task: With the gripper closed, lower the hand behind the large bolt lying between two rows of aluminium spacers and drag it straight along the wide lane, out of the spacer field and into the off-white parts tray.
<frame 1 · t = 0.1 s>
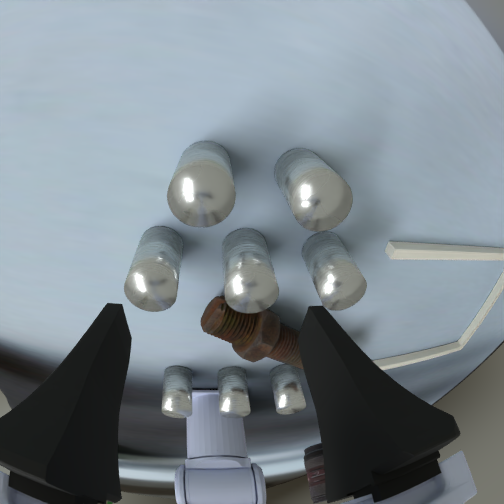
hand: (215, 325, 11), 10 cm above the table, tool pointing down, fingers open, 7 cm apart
tray rim: (434, 311, 29), on the table
spacer field: (247, 325, 26), on the table
bolt: (278, 322, 27), on the table
camera lens: (317, 446, 56), on the table
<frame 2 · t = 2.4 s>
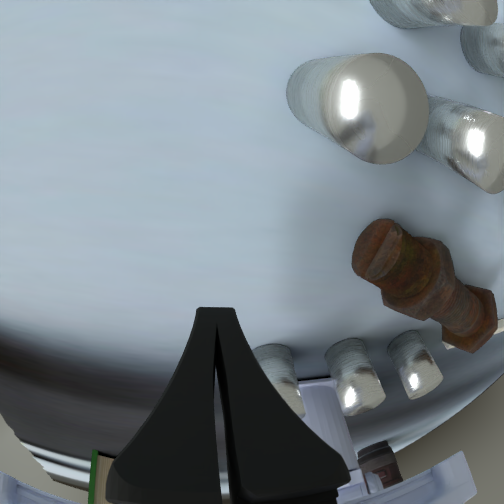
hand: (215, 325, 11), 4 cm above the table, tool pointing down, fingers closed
hardback book: (113, 462, 39), on the table
spacer field: (398, 262, 16), on the table
bolt: (421, 269, 17), on the table
camera lens: (371, 446, 46), on the table
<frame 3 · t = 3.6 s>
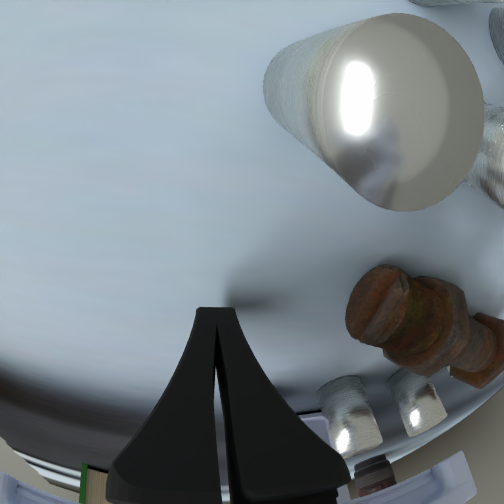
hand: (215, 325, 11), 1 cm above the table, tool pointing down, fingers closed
hardback book: (104, 474, 36), on the table
spacer field: (406, 298, 13), on the table
bolt: (429, 304, 15), on the table
camera lens: (369, 460, 43), on the table
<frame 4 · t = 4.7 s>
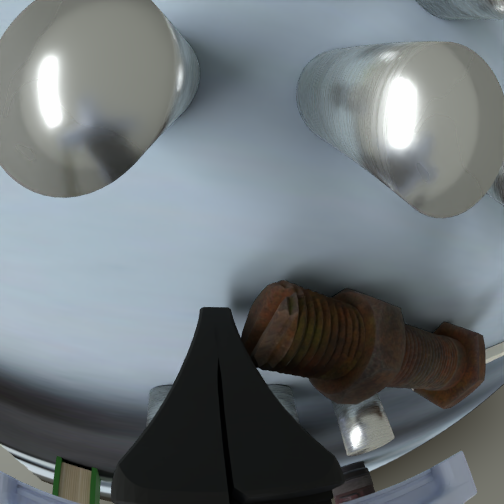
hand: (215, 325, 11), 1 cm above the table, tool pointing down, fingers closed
hardback book: (81, 469, 35), on the table
spacer field: (318, 304, 12), on the table
bolt: (377, 317, 14), on the table, touching gripper
camera lens: (346, 466, 42), on the table
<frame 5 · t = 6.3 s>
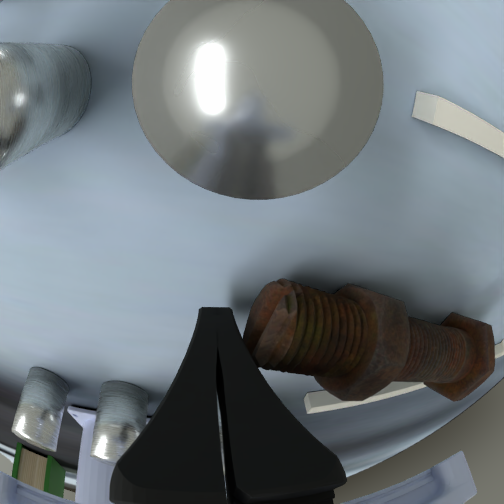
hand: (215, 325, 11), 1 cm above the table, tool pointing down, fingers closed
hardback book: (43, 458, 33), on the table
tray rim: (489, 290, 15), on the table
spacer field: (104, 300, 11), on the table
bolt: (382, 311, 14), on the table, touching gripper
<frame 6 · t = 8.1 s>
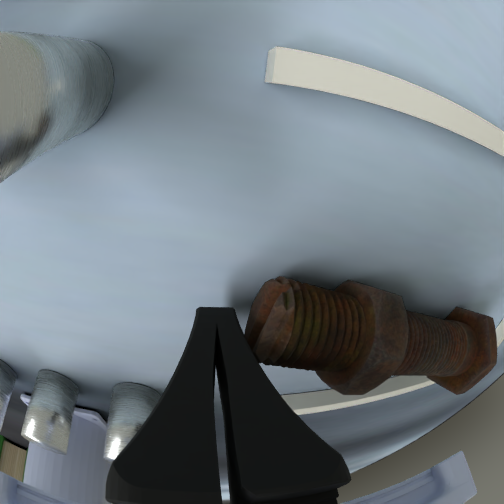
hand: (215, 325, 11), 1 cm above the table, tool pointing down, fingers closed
hardback book: (26, 451, 33), on the table
tray rim: (447, 294, 14), on the table
spacer field: (15, 292, 10), on the table
bolt: (382, 305, 14), on the table
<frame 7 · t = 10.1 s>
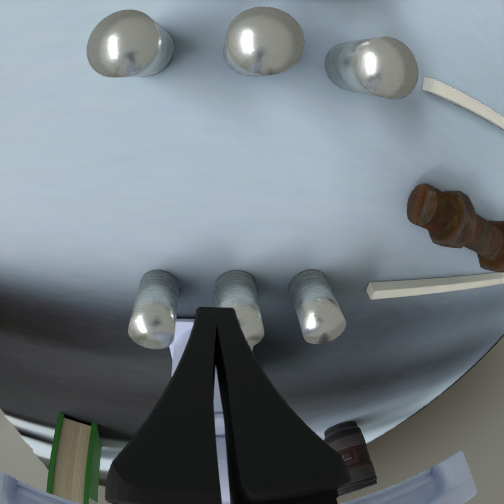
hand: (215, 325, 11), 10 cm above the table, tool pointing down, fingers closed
hardback book: (82, 430, 41), on the table
tray rim: (483, 209, 21), on the table
spacer field: (257, 184, 18), on the table
bolt: (453, 214, 22), on the table
camera lens: (339, 427, 48), on the table
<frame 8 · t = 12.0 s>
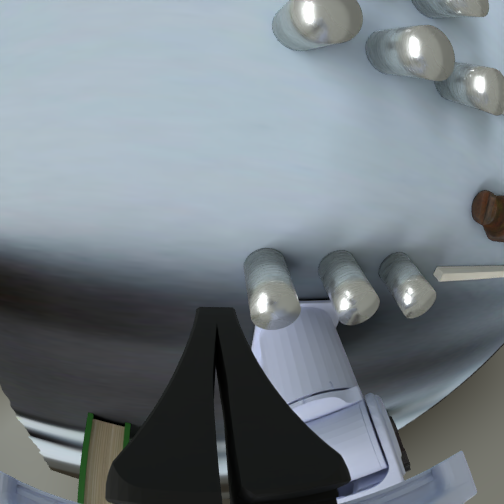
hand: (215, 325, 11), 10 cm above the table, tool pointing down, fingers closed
hardback book: (109, 431, 41), on the table
spacer field: (376, 169, 18), on the table
bolt: (498, 214, 23), on the table
camera lens: (372, 417, 48), on the table
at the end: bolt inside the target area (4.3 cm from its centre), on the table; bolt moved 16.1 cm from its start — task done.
